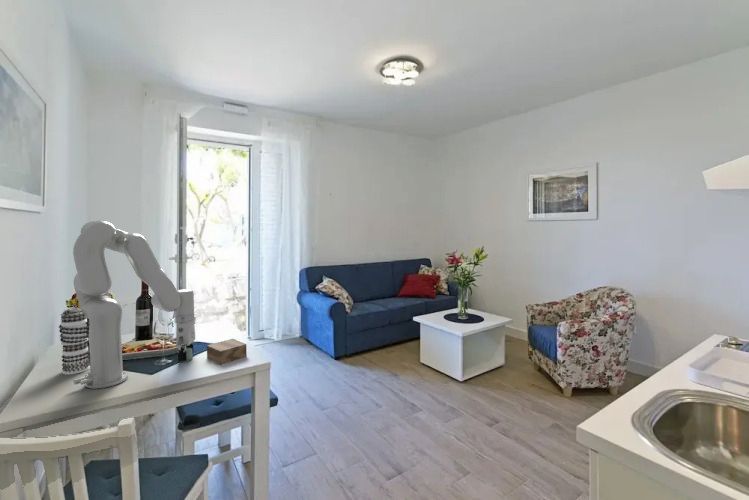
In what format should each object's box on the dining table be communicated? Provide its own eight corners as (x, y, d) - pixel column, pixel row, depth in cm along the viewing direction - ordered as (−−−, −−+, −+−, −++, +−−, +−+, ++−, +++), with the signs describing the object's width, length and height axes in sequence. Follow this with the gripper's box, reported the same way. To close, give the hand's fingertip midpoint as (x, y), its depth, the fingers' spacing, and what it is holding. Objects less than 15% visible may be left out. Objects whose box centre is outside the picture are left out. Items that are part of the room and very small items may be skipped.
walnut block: (220, 365, 147) (220, 351, 146) (207, 358, 154) (206, 345, 154) (246, 357, 156) (246, 344, 156) (232, 351, 163) (232, 338, 163)
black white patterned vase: (74, 365, 145) (71, 306, 143) (96, 365, 145) (94, 306, 144) (54, 374, 136) (51, 311, 134) (78, 374, 136) (75, 311, 134)
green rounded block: (182, 363, 148) (182, 352, 148) (176, 360, 151) (176, 350, 151) (194, 359, 153) (194, 349, 152) (188, 356, 155) (188, 346, 155)
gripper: (187, 322, 143) (188, 364, 144) (200, 312, 160) (201, 349, 161) (167, 323, 142) (168, 365, 143) (182, 313, 159) (183, 350, 160)
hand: (186, 356), depth 152 cm, fingers open, 8 cm apart
